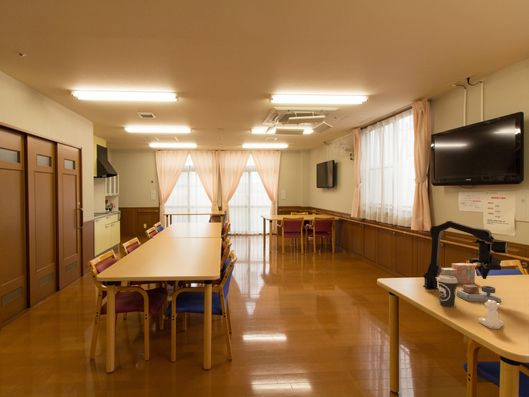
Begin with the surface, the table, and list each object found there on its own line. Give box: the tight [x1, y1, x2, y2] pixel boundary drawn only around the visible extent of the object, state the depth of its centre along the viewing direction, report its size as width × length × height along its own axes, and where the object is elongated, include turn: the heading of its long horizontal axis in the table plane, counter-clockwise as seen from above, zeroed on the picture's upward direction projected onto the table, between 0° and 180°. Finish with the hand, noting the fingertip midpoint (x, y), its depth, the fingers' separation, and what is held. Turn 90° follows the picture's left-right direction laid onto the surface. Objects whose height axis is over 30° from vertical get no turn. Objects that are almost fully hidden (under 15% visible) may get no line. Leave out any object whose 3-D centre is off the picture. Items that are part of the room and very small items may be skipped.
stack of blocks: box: [438, 262, 476, 284], centre depth 216 cm, size 21×6×12 cm, turn 96°
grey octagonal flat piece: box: [481, 285, 496, 294], centre depth 182 cm, size 6×6×2 cm
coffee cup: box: [437, 275, 459, 308], centre depth 170 cm, size 10×10×15 cm
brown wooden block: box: [462, 284, 480, 294], centre depth 182 cm, size 6×4×6 cm
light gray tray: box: [455, 289, 502, 302], centre depth 182 cm, size 18×11×5 cm, turn 90°
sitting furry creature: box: [478, 300, 504, 330], centre depth 142 cm, size 10×9×12 cm
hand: (484, 279), depth 182 cm, fingers closed
